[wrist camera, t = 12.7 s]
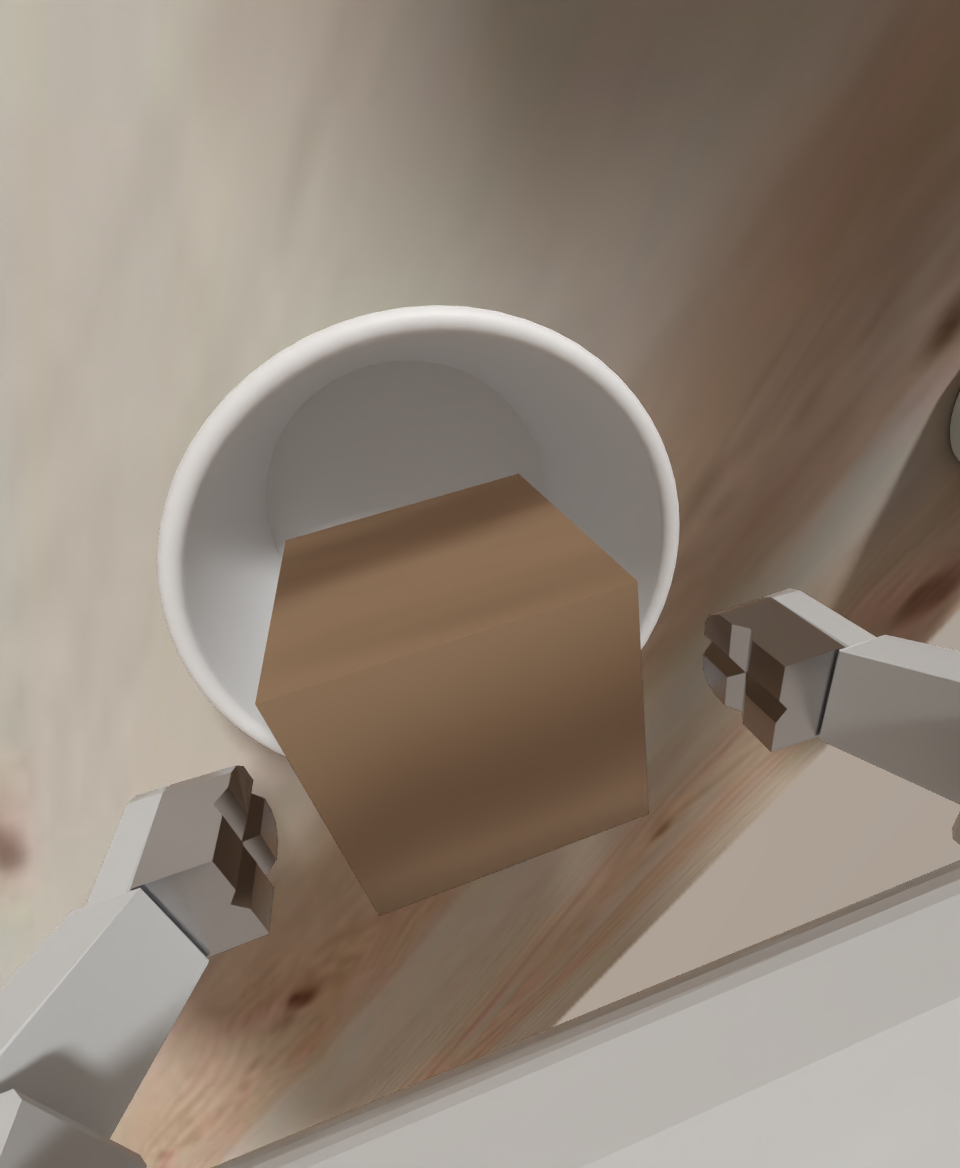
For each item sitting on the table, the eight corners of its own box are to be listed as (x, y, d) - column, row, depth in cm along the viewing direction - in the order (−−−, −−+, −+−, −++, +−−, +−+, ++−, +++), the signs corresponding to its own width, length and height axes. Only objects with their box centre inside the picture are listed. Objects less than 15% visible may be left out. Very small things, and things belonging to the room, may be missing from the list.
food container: (323, 201, 13) (317, 127, 8) (639, 438, 19) (773, 496, 13) (157, 578, 17) (70, 718, 11) (465, 687, 22) (511, 818, 16)
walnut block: (285, 539, 10) (254, 703, 6) (518, 473, 11) (637, 580, 7) (363, 715, 13) (379, 915, 9) (548, 653, 14) (648, 813, 9)
